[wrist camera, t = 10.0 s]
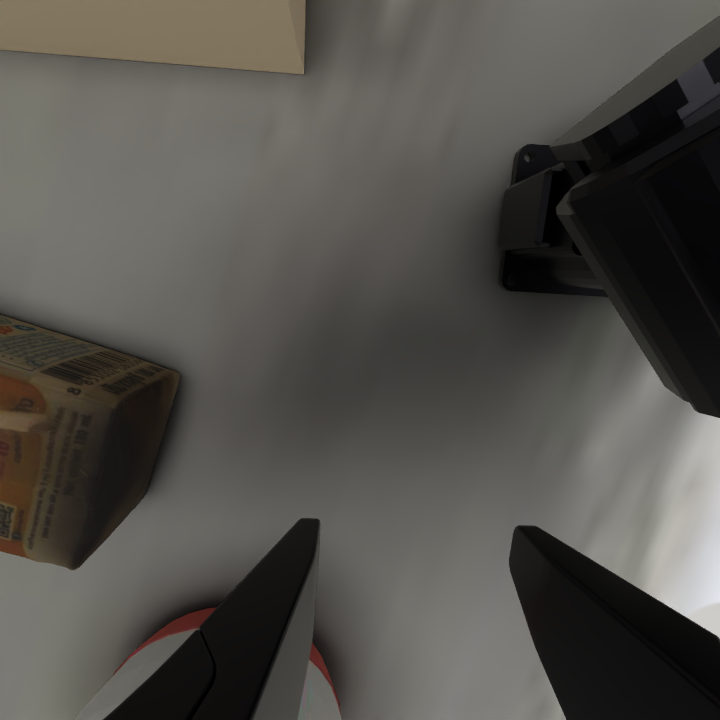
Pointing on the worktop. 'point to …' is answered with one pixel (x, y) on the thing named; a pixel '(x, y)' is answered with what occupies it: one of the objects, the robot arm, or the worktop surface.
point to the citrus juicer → (318, 696)
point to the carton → (162, 31)
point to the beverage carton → (73, 440)
